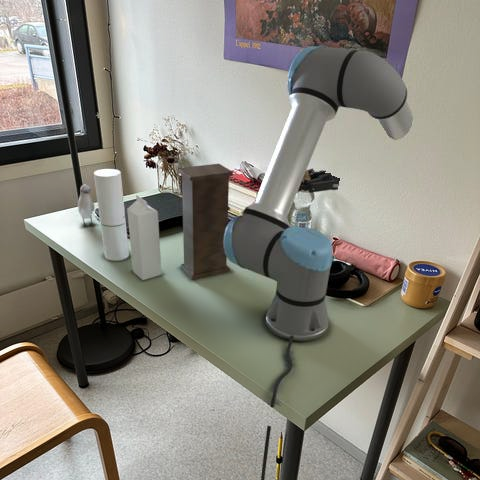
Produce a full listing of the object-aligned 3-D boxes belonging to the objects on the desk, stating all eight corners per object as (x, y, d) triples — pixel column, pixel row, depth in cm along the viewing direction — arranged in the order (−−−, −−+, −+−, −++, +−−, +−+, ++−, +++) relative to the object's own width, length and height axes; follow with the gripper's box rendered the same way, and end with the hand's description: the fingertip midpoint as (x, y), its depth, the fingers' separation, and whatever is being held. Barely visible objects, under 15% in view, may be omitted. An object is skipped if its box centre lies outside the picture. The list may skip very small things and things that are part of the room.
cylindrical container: (131, 251, 145) (124, 169, 131) (124, 261, 139) (115, 177, 125) (109, 249, 146) (99, 168, 132) (101, 259, 140) (89, 175, 126)
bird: (86, 234, 154) (79, 189, 146) (76, 219, 164) (69, 176, 155) (101, 231, 156) (95, 187, 148) (90, 217, 166) (84, 175, 158)
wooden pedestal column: (217, 260, 143) (219, 163, 126) (229, 271, 137) (233, 171, 121) (180, 268, 138) (177, 168, 121) (192, 280, 132) (190, 177, 116)
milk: (142, 280, 131) (135, 204, 118) (132, 271, 135) (125, 197, 122) (162, 274, 134) (157, 199, 121) (151, 266, 138) (146, 192, 125)
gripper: (358, 197, 140) (293, 208, 131) (323, 180, 153) (261, 189, 143) (363, 171, 136) (296, 181, 126) (326, 156, 149) (263, 164, 139)
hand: (278, 185), depth 135 cm, fingers closed on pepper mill, 4 cm apart
